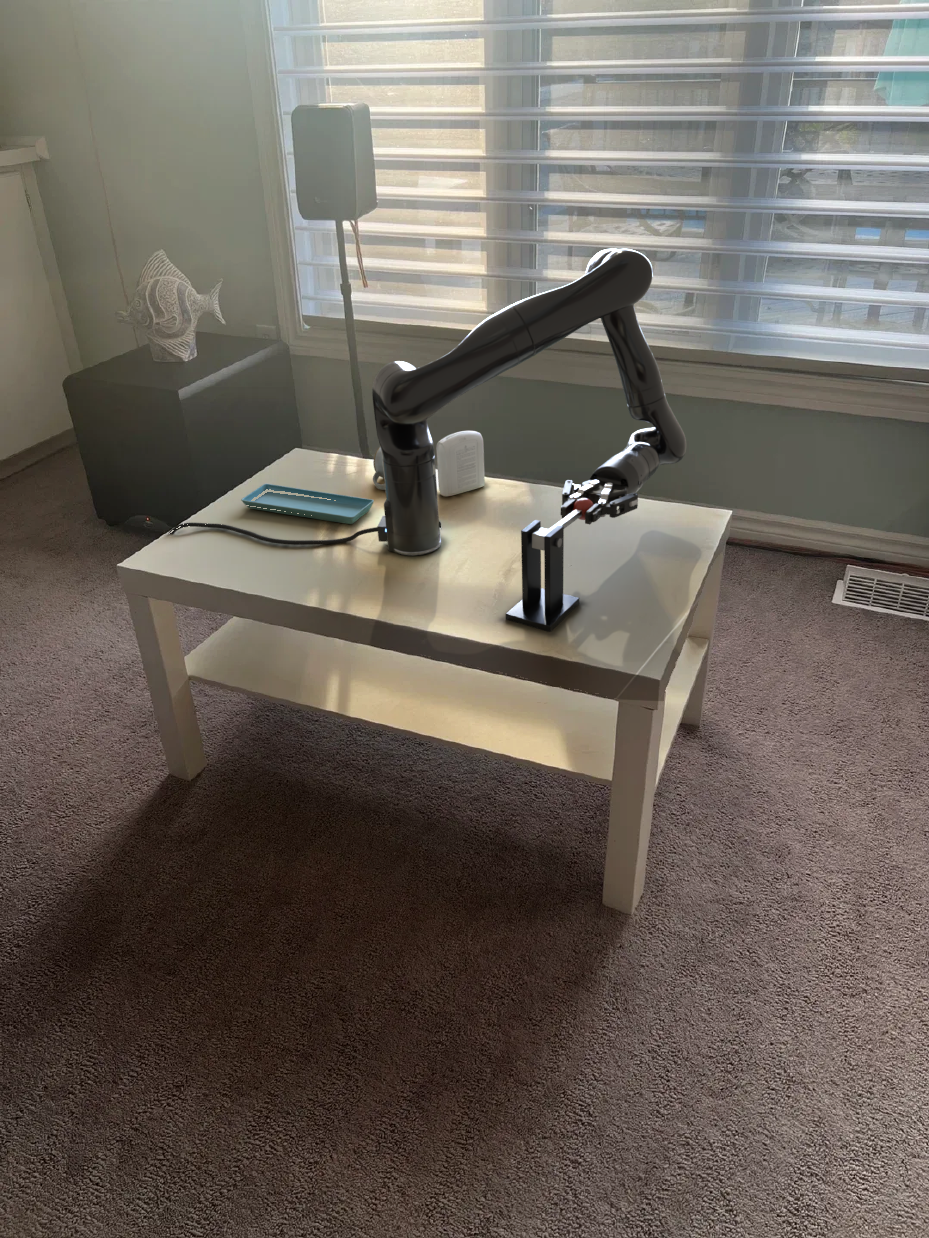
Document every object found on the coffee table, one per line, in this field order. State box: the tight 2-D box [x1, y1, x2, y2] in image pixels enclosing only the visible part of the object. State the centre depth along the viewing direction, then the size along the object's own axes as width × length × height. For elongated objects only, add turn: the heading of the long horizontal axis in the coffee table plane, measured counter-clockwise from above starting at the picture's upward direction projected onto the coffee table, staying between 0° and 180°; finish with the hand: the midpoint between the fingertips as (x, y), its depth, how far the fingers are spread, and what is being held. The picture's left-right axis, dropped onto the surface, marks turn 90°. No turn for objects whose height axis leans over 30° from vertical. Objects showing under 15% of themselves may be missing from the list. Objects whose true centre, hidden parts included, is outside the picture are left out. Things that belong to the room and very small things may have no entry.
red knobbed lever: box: [532, 498, 594, 551], centre depth 145 cm, size 17×4×4 cm, turn 147°
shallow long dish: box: [240, 483, 375, 525], centre depth 185 cm, size 26×9×2 cm, turn 67°
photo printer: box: [435, 430, 486, 497], centre depth 188 cm, size 10×4×12 cm, turn 123°
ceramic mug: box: [372, 446, 386, 491], centre depth 195 cm, size 11×8×8 cm
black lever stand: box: [505, 519, 580, 633], centre depth 143 cm, size 10×8×15 cm
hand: (575, 516), depth 148 cm, fingers closed on red knobbed lever, 3 cm apart
